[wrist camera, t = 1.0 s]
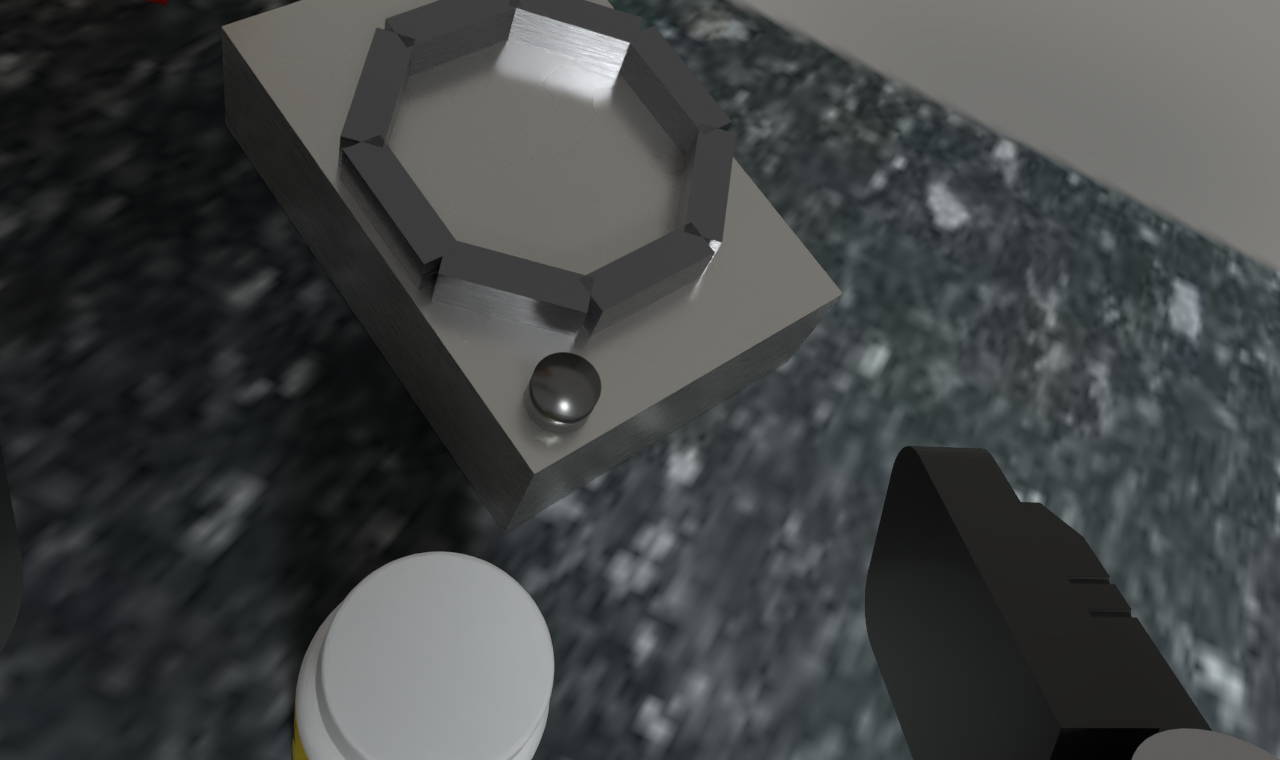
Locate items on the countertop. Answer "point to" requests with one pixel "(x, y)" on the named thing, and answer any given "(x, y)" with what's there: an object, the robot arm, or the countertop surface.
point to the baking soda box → (159, 1)
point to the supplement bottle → (427, 667)
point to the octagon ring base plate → (524, 222)
